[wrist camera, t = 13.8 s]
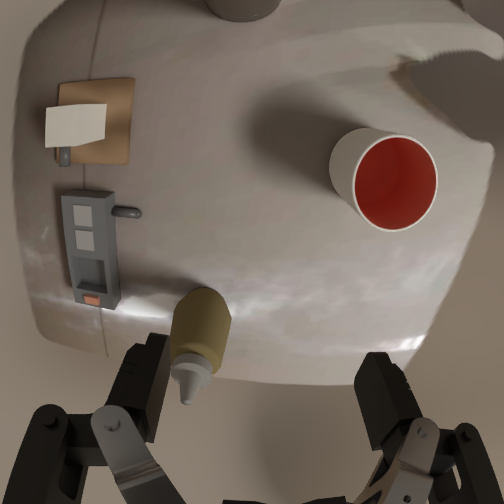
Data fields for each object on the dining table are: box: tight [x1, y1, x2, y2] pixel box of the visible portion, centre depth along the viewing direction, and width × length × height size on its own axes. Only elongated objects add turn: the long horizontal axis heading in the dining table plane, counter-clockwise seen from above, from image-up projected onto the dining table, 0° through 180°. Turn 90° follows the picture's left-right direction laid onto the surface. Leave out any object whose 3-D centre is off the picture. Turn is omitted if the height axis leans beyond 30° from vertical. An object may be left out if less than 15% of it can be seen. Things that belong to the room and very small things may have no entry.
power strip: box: [61, 190, 142, 310], centre depth 39 cm, size 17×11×4 cm, turn 172°
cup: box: [329, 128, 438, 232], centre depth 31 cm, size 10×10×10 cm
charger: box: [45, 104, 107, 167], centre depth 29 cm, size 7×4×7 cm, turn 173°
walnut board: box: [57, 78, 135, 165], centre depth 32 cm, size 11×11×1 cm
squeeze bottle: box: [170, 288, 232, 405], centre depth 36 cm, size 8×8×18 cm
